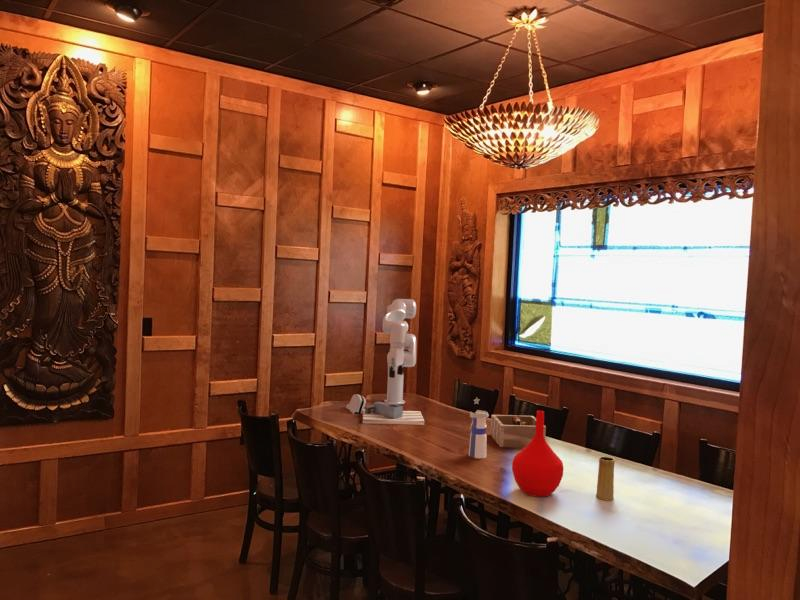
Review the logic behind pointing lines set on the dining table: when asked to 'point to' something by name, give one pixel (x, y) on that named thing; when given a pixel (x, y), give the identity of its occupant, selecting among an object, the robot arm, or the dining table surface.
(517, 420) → the bear figurine
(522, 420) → the box
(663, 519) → the dining table surface
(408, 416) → the board
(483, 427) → the water bottle
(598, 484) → the vase
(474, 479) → the dining table surface
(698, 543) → the dining table surface
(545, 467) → the vase
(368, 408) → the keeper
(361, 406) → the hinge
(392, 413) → the link
